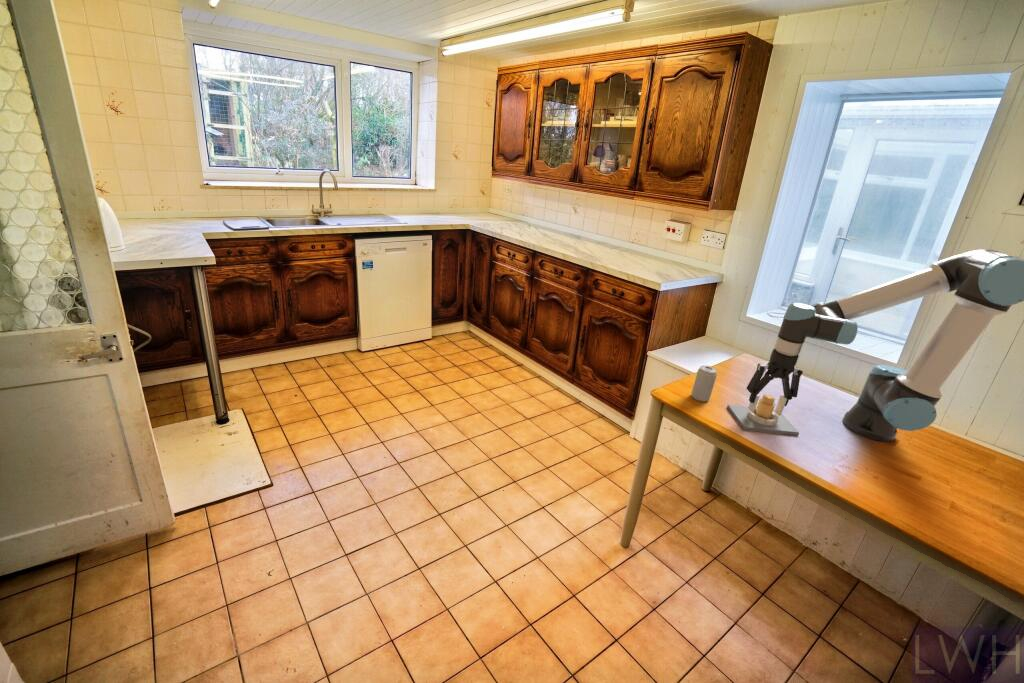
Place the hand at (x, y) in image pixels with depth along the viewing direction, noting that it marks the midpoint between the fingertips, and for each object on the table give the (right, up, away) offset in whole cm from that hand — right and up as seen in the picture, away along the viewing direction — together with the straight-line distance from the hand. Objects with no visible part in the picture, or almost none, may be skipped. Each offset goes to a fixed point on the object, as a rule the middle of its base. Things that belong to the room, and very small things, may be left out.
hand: (764, 412), depth 160 cm
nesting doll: (0, -2, +1) cm, 2 cm away
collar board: (0, -3, +1) cm, 4 cm away
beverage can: (-17, +3, +12) cm, 21 cm away
